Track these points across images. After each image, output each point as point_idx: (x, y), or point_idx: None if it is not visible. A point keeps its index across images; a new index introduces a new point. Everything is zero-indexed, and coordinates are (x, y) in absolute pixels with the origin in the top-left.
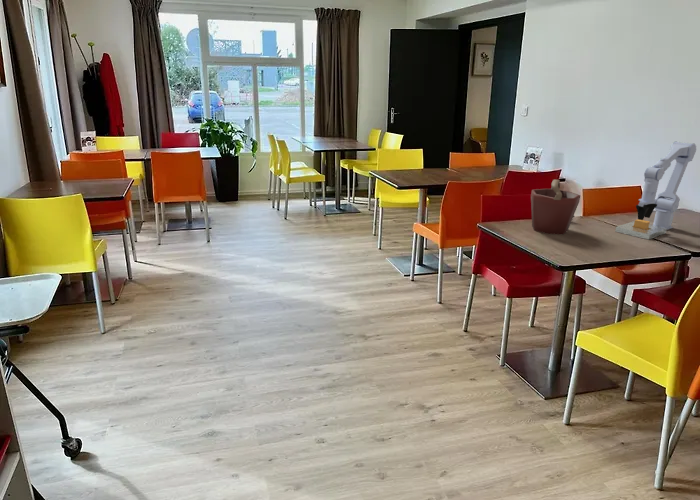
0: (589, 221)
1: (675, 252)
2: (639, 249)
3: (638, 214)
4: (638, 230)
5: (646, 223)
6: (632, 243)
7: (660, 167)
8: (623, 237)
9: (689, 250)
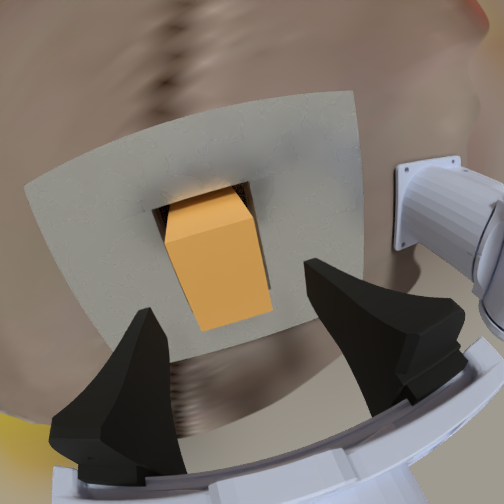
0: None
1: None
2: (24, 392)
3: (122, 351)
4: (119, 305)
5: (204, 326)
6: (24, 356)
7: None
8: (21, 290)
9: (190, 431)
